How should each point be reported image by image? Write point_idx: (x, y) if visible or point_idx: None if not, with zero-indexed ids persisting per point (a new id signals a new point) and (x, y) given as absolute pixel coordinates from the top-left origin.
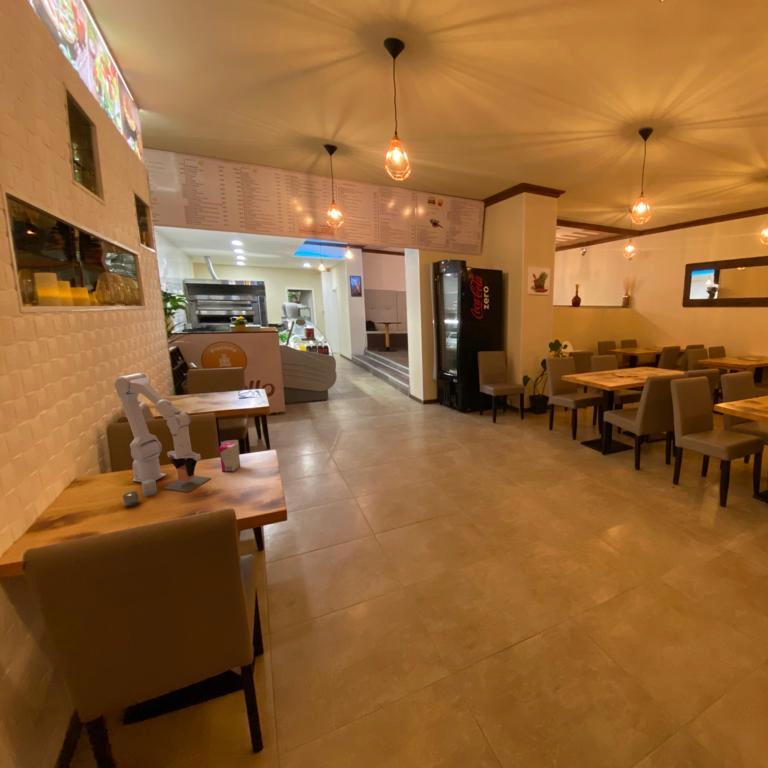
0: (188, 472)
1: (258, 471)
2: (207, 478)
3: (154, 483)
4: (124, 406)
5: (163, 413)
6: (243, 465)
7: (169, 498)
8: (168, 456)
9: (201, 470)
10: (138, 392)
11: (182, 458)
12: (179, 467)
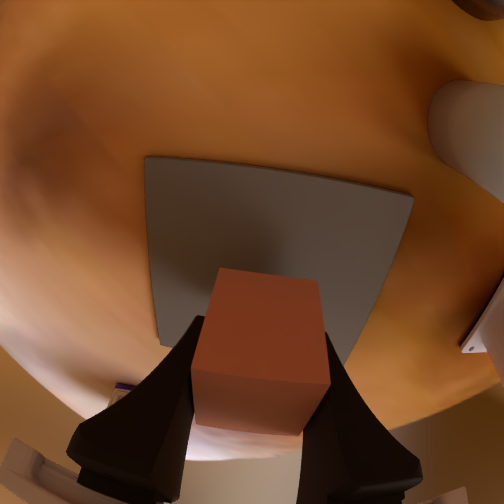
0: (183, 345)
1: (49, 372)
2: (173, 340)
3: (481, 144)
4: None
5: None
6: None
7: (238, 42)
8: (458, 495)
9: None
10: None
11: (307, 498)
12: (316, 403)
